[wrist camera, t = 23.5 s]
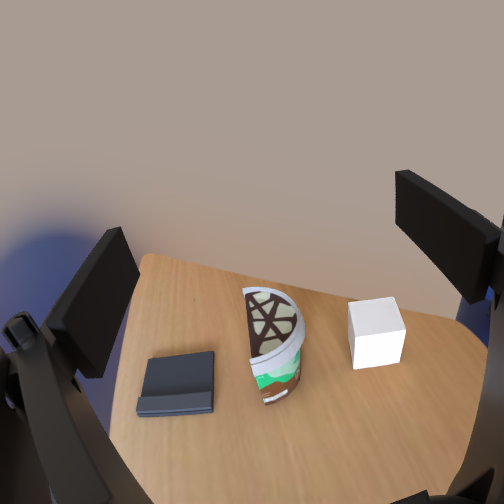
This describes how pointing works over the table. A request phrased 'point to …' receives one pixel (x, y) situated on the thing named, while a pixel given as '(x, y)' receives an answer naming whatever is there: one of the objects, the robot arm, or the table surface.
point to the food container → (274, 341)
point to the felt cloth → (178, 385)
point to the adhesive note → (375, 332)
